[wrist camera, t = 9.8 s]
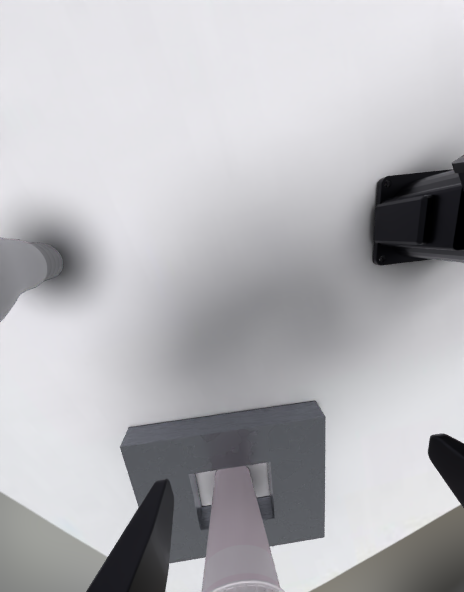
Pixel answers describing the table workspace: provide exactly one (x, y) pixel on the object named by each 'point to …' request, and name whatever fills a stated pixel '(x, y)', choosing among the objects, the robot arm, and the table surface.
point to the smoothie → (237, 538)
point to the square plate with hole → (233, 453)
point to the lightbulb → (24, 269)
